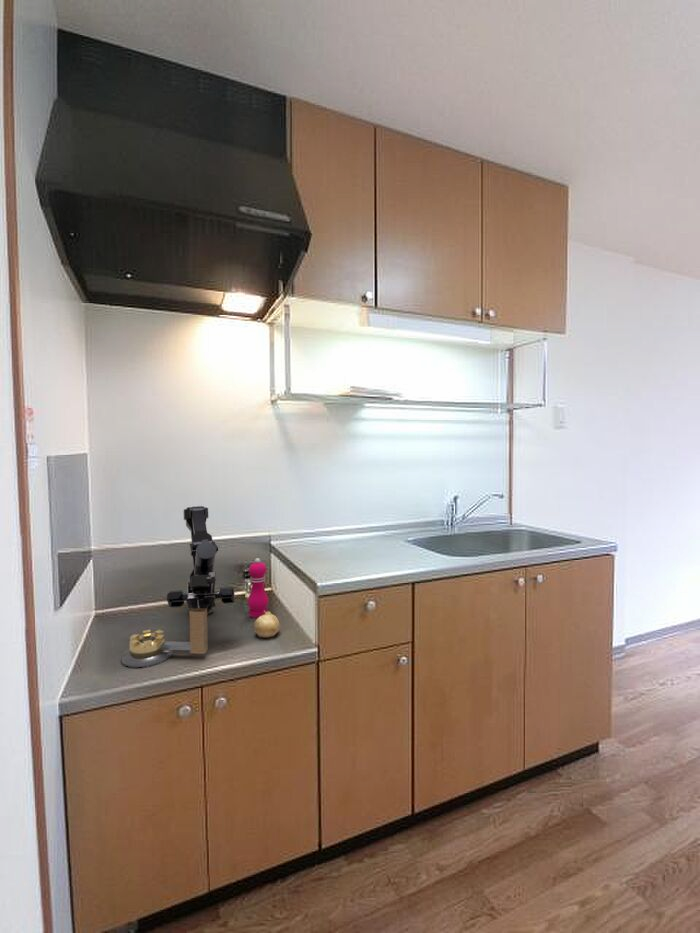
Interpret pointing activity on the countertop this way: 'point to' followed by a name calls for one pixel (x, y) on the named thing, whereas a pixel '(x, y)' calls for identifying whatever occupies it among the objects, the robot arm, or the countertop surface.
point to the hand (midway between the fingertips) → (199, 625)
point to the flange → (144, 659)
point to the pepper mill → (257, 590)
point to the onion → (266, 625)
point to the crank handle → (156, 642)
